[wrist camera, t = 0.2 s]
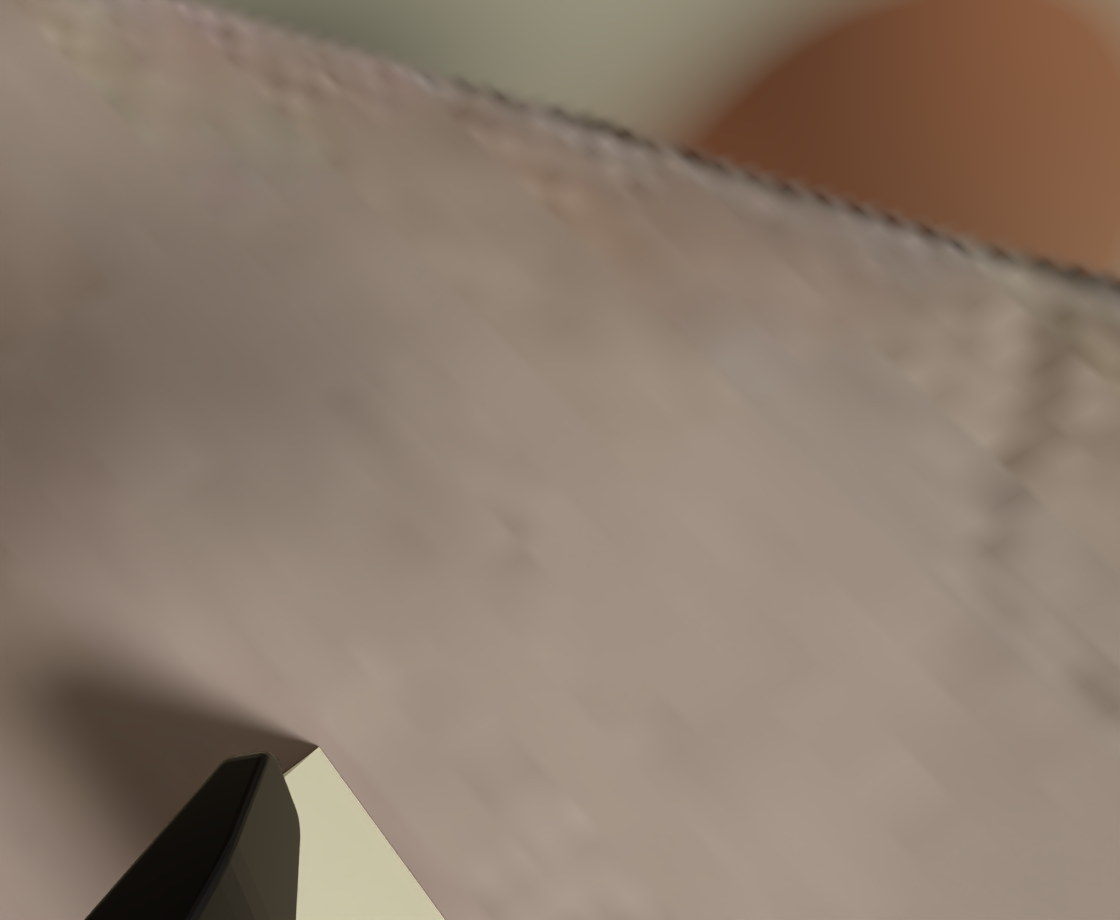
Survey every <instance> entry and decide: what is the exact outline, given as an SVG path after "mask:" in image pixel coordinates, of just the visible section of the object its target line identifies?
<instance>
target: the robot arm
mask: <svg viewBox="0 0 1120 920" xmlns="http://www.w3.org/2000/svg"><path fill="white" fill-rule="evenodd" d="M299 855H300V823H299V817H298V813H297V810H296V807H295V804H294V802H293V799H292V797H291V794H290V791H289V789H288V786H287V783H286V781H285V778H284V775H283V773H282V770H281V767H280V765H279V762H278V760H277V759H276V757H275V756H274V755H273V754H272V753H270V752H267V751H261V752H255V753H249V754H243V755H237V756H232V757H229V758H227V759H226V760H225V761H223V762H222V763H221V764H220V765H219V766H218V768H217V769H216V770H215V771H214V772H213V773H212V774H211V776H210V777H209V778H208V779H207V780H206V781H205V782H204V784H203V785H202V786H201V787H200V788H199V789H198V790H197V792H196V793H195V794H194V795H193V796H192V797H191V798H190V800H189V801H188V802H187V803H186V804H185V805H184V806H183V808H182V809H181V810H180V811H179V812H178V813H177V814H176V816H175V817H174V818H173V819H172V820H171V821H170V822H169V824H168V825H167V826H166V827H165V828H164V829H163V830H162V832H161V833H160V834H159V835H158V836H157V837H156V838H155V840H154V841H153V842H152V843H151V844H150V845H149V846H148V848H147V849H146V850H145V851H144V852H143V853H142V854H141V856H140V857H139V858H138V859H137V860H136V861H135V862H134V864H133V865H132V866H131V867H130V868H129V869H128V870H127V872H126V873H125V874H124V875H123V876H122V877H121V878H120V880H119V881H118V882H117V883H116V884H115V885H114V886H113V888H112V889H111V890H110V891H109V892H108V893H107V894H106V896H105V897H104V898H103V899H102V900H101V901H100V902H99V904H98V905H97V906H96V907H95V908H94V909H93V910H92V912H91V913H90V914H89V915H88V916H87V917H86V918H85V919H84V920H296V910H297V891H298V873H299Z"/></svg>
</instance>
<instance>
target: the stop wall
mask: <svg viewBox="0 0 1120 920" xmlns="http://www.w3.org/2000/svg"><path fill="white" fill-rule="evenodd" d="M283 775H284V778H285V781H286V783H287V786H288V789H289V791H290V794H291V797H292V799H293V802H294V804H295V807H296V810H297V813H298V817H299V823H300V855H299V873H298V891H297V910H296V920H445V919H444V918H443V917H442V915H441V914H440V912H439V911H438V910H437V908H436V907H435V906H434V904H433V903H432V902H431V900H430V899H429V897H428V896H427V895H426V893H425V892H424V891H423V889H422V888H421V886H420V885H419V884H418V882H417V881H416V880H415V878H414V877H413V875H412V874H411V873H410V871H409V870H408V869H407V867H406V866H405V864H404V863H403V862H402V860H401V859H400V858H399V856H398V855H397V853H396V852H395V851H394V849H393V848H392V847H391V845H390V844H389V842H388V841H387V840H386V838H385V837H384V836H383V834H382V833H381V831H380V830H379V829H378V827H377V826H376V825H375V823H374V822H373V820H372V819H371V818H370V816H369V815H368V814H367V812H366V811H365V809H364V808H363V807H362V805H361V804H360V803H359V801H358V800H357V798H356V797H355V796H354V794H353V793H352V792H351V790H350V789H349V787H348V786H347V785H346V783H345V782H344V781H343V779H342V778H341V776H340V775H339V774H338V772H337V771H336V770H335V768H334V767H333V766H332V764H331V763H330V761H329V760H328V759H327V757H326V756H325V755H324V753H323V752H322V750H321V749H320V748H319V747H318V748H317V749H316V750H314V751H313V752H312V753H310V754H309V755H308V756H307V757H305V758H304V759H303V760H301V761H300V762H299V763H297V764H296V765H295V766H293V767H292V768H291V769H289V770H288V771H287V772H286V773H284V774H283Z"/></svg>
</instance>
